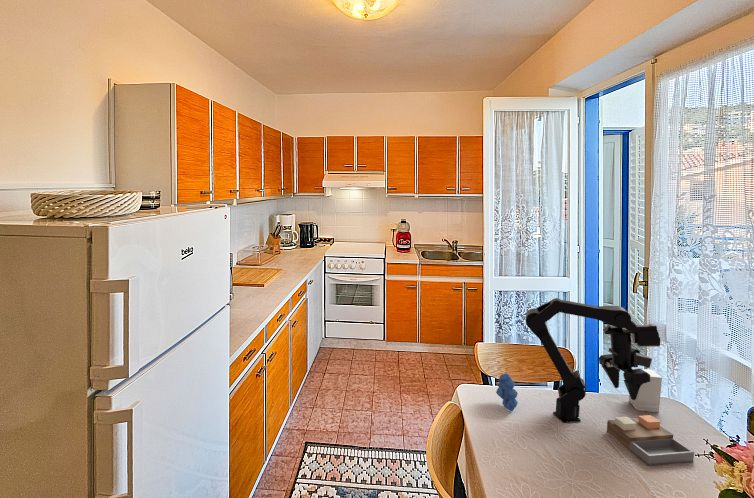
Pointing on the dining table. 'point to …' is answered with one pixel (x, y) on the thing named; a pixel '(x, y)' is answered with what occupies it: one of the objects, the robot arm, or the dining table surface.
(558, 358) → the robot arm
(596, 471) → the dining table surface
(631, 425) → the sage tile
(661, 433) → the walnut board
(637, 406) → the supplement box
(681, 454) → the tray
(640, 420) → the terracotta tile
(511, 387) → the grapes
